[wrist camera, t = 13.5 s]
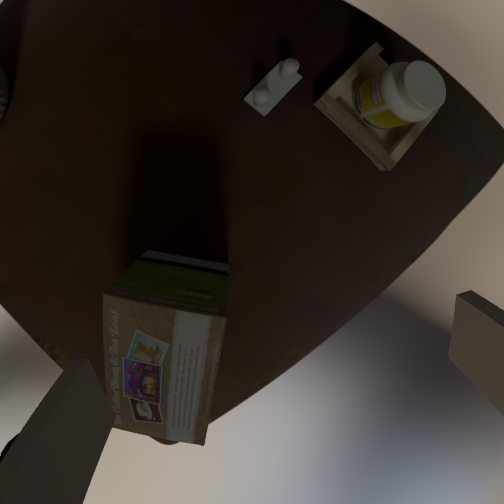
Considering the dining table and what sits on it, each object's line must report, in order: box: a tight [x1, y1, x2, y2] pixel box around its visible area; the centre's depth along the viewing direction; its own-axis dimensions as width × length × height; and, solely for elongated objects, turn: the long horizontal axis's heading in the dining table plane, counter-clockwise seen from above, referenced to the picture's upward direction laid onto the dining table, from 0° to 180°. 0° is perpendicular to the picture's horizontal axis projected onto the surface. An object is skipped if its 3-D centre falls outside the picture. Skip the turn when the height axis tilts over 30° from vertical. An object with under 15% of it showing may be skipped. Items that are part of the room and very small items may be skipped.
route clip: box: [244, 58, 302, 117], centre depth 30 cm, size 3×6×4 cm, turn 139°
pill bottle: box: [354, 61, 446, 129], centre depth 26 cm, size 6×6×11 cm
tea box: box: [103, 250, 229, 446], centre depth 31 cm, size 15×10×15 cm
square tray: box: [314, 42, 439, 171], centre depth 31 cm, size 11×11×3 cm
